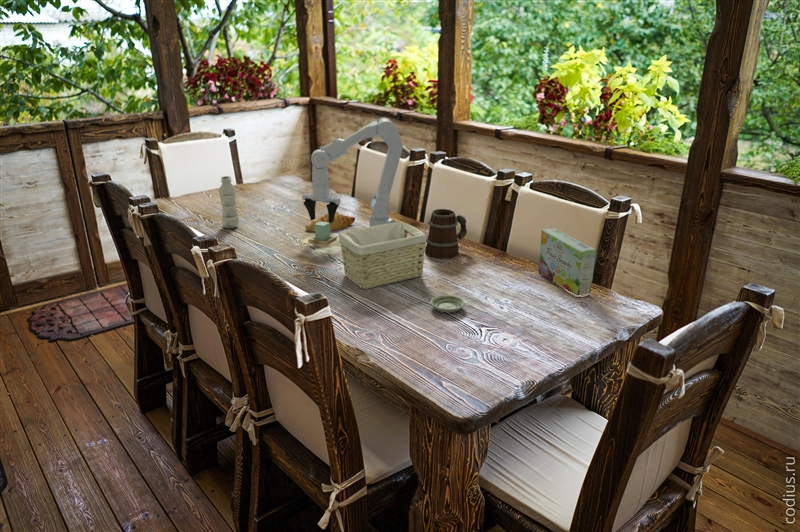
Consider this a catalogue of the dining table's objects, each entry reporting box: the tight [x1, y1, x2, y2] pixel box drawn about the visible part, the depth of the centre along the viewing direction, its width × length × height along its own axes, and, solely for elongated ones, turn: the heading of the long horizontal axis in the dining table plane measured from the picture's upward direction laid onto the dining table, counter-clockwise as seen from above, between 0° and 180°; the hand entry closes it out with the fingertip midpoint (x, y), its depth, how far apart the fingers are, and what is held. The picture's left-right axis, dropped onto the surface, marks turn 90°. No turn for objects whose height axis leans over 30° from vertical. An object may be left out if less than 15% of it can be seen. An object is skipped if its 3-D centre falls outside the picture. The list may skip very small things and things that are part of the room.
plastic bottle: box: [218, 176, 240, 229], centre depth 232 cm, size 6×7×20 cm
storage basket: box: [338, 221, 427, 290], centre depth 189 cm, size 24×16×15 cm
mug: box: [424, 208, 468, 260], centre depth 210 cm, size 16×12×15 cm
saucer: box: [430, 294, 466, 313], centre depth 170 cm, size 10×10×2 cm
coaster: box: [314, 245, 342, 256], centre depth 213 cm, size 8×8×1 cm
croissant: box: [304, 211, 356, 232], centre depth 236 cm, size 21×10×8 cm, turn 122°
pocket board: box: [298, 233, 340, 248], centre depth 221 cm, size 14×11×2 cm
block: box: [314, 221, 331, 241], centre depth 220 cm, size 4×4×6 cm
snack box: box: [538, 227, 597, 295], centre depth 184 cm, size 21×6×15 cm, turn 21°
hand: (322, 220), depth 218 cm, fingers open, 7 cm apart
